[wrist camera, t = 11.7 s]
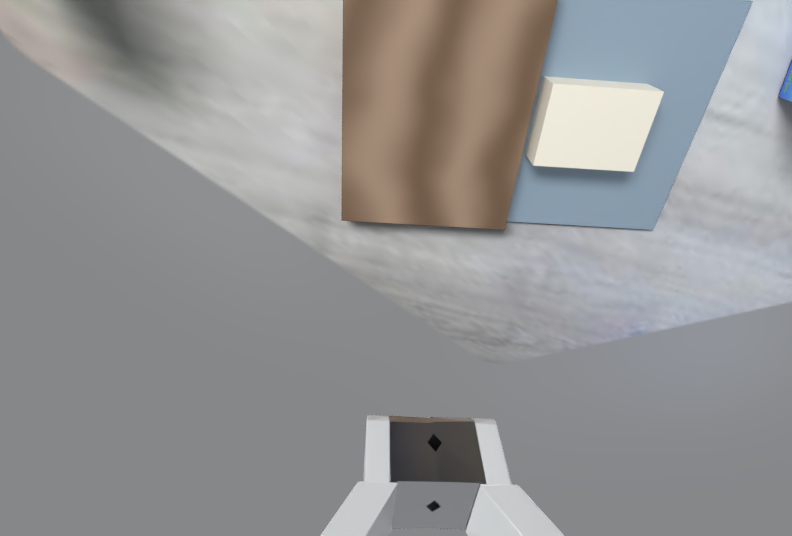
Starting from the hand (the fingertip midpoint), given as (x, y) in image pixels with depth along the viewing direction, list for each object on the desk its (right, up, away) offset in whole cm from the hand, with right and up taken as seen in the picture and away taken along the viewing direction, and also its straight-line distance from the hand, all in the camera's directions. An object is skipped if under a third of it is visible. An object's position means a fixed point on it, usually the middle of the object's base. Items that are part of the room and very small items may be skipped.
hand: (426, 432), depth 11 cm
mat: (+16, +15, +26) cm, 34 cm away
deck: (+2, +16, +25) cm, 30 cm away
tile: (+14, +15, +25) cm, 33 cm away
